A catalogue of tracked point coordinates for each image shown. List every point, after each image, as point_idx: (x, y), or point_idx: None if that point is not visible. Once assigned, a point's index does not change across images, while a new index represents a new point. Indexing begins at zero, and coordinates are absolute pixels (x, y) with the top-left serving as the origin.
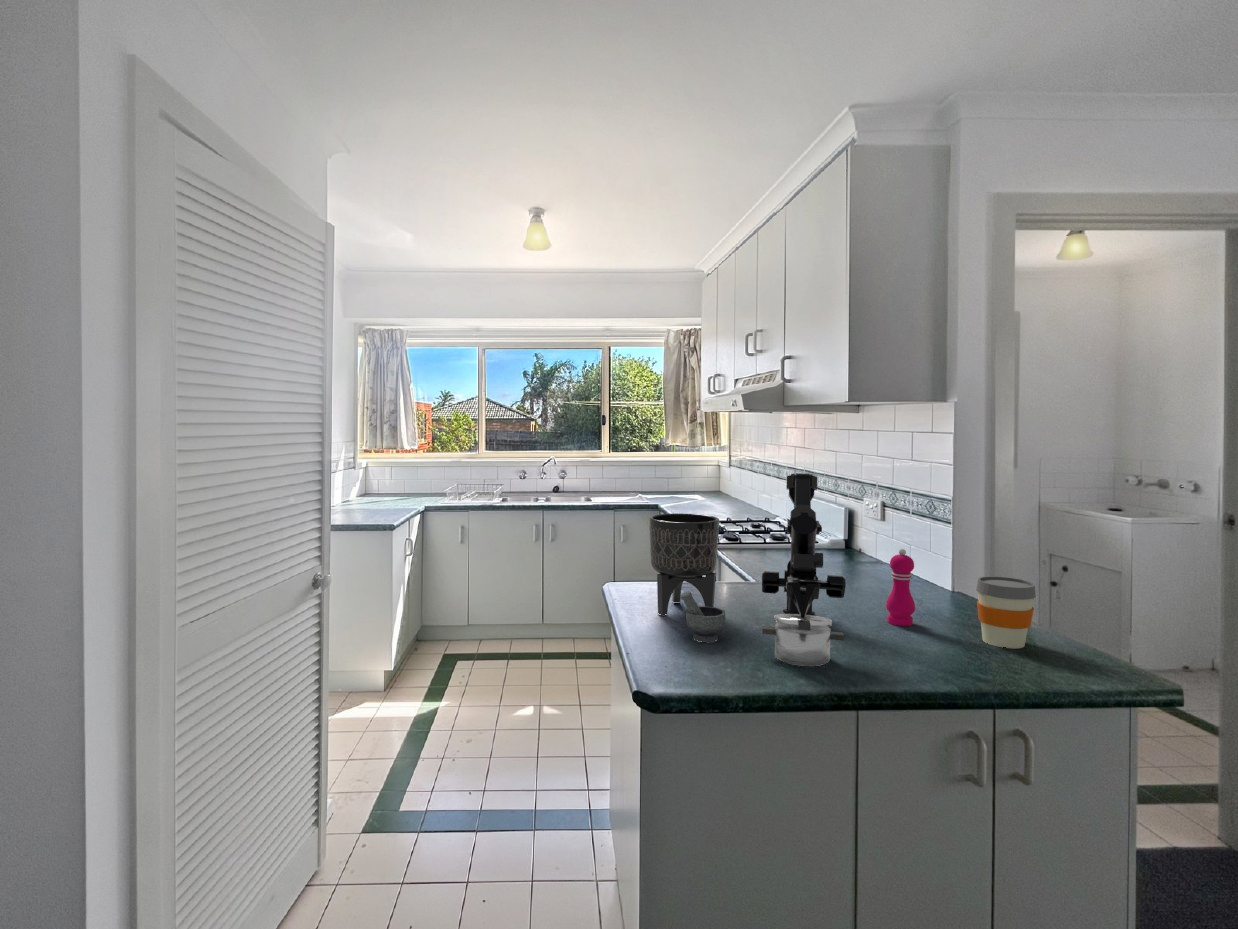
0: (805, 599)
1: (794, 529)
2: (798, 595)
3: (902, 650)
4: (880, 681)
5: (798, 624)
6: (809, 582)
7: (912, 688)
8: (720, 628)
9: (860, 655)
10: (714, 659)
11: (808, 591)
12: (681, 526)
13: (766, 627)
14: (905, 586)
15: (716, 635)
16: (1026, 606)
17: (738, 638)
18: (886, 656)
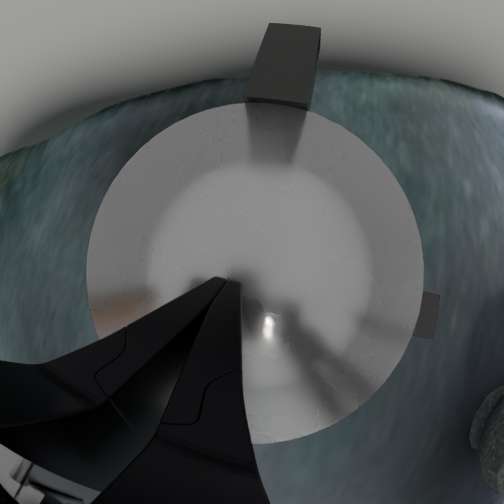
0: (142, 350)
1: None
2: (198, 416)
3: (18, 334)
4: (128, 139)
5: (320, 31)
6: (3, 501)
7: (98, 124)
8: (498, 410)
9: (87, 310)
10: (498, 257)
11: (55, 389)
12: None
13: (422, 317)
14: None
15: (486, 416)
16: None
17: (416, 455)
18: (46, 298)
